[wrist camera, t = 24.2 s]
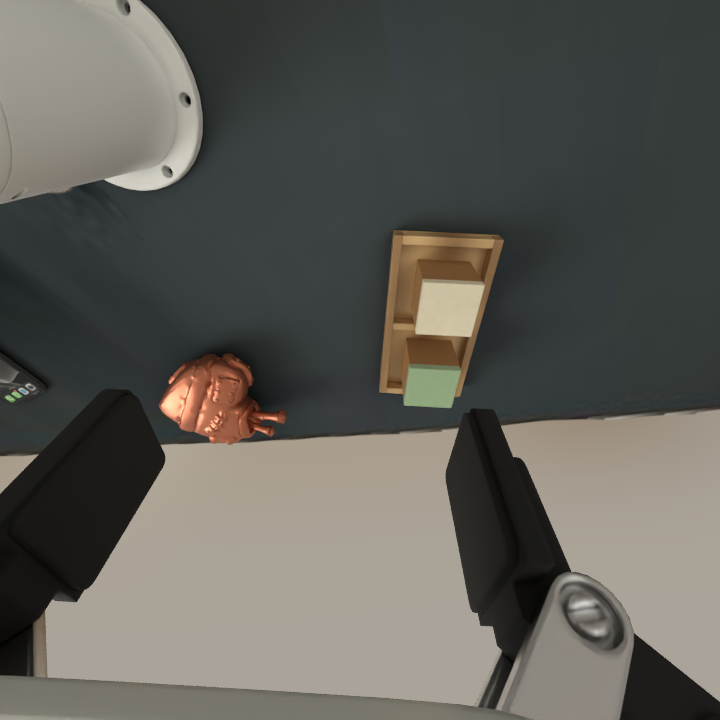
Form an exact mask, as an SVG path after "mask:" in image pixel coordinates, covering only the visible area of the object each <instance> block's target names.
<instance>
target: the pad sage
mask: <svg viewBox="0 0 720 720" xmlns="http://www.w3.org/2000/svg"><path fill="white" fill-rule="evenodd" d="M460 374H461V369H460V365H459V362H458V359H457V356H456V353H455V350H454V347H453V344H452V341H451V340H435V339H416V338H406V341H405V348H404V356H403V363H402V370H401V378H402V389H403V400H404V405H406V406H424V407H442V408H451V407H452V403H453V400H454V396H455V392H456V389H457V385H458V381H459V377H460Z"/></svg>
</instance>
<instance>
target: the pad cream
mask: <svg viewBox="0 0 720 720" xmlns="http://www.w3.org/2000/svg"><path fill="white" fill-rule="evenodd" d="M484 287H485V285H484V283H483V281H482V280H481V278H480V276H479V275H478V273H477V272H476V270H475V268H474V267H473V265H472V264H471V262H469V261H449V260H428V259H417V265H416V272H415V280H414V287H413V294H412V301H411V310H412V315H413V321H414V327H415V332H416V334H423V335H442V336H462V337H471V335H472V332H473V328H474V324H475V321H476V317H477V313H478V310H479V306H480V302H481V299H482V295H483V291H484Z"/></svg>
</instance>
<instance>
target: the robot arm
mask: <svg viewBox="0 0 720 720" xmlns="http://www.w3.org/2000/svg"><path fill="white" fill-rule="evenodd" d="M129 5H130V13H129V11H128V6H129ZM188 96H189V97H190V99H191V104H189V103H188V101H187V98H188ZM202 135H203V114H202V107H201V101H200V95H199V92H198V89H197V85H196V82H195V79H194V75H193V73H192V71H191V69H190V67H189V64H188V62H187V60H186V58H185V56H184V54H183V52H182V50H181V49H180V47H179V45H178V44H177V42H176V41H175V39H174V37H173V36H172V34H171V33H170V32H169V30H168V29H167V28H166V27H165V25H164V24H163V23H162V22H161V21H160V19H159V18H158V17H157V16H156V15H155V14H154V13H153V12H152V11H151V10H150V9H149V8H148V7H147V6H146V5H145V4H144V3H142V2H141V1H140V0H0V204H2V203H6V202H11V201H15V200H19V199H23V198H27V197H32V196H36V195H40V194H44V193H48V192H52V191H57V190H60V189H65V188H69V187H73V186H77V185H82V184H86V183H90V182H94V181H98V180H103V179H104V180H106V181H108V182H110V183H112V184H115V185H118V186H121V187H124V188H126V189H133V190H140V191H145V190H156V189H160V188H163V187H166V186H168V185H171V184H173V183H175V182H177V181H178V180H180V179H181V178H182V177H183V176H184V175H186V174H187V172H188V171H189V170H190V168H191V167H192V165H193V164H194V162H195V160H196V158H197V155H198V153H199V150H200V146H201V140H202ZM170 168H171V170H172V172H173V173H171V171H170ZM164 463H165V454H164V452H163V450H162V448H161V445H160V443H159V441H158V439H157V437H156V435H155V433H154V431H153V429H152V426H151V424H150V422H149V420H148V418H147V416H146V414H145V412H144V410H143V408H142V405H141V403H140V401H139V399H138V398H137V397H136V396H135V395H133V393H132V392H131V391H129V390H118V389H105V390H103V391H101V392H100V393H99V394H98V395H97V396H96V397H95V398H94V399H93V400H92V401H91V402H90V403H89V404H88V405H87V406H86V407H85V408H84V409H83V410H82V411H81V412H80V413H79V414H78V415H77V416H76V418H75V419H74V420H73V421H72V422H71V423H70V424H69V425H68V426H67V427H66V428H65V429H64V430H63V431H62V432H61V433H60V434H59V435H58V436H57V437H56V438H55V439H54V440H53V441H52V442H51V443H50V444H49V445H48V446H47V447H46V448H45V449H44V450H43V451H42V452H41V453H40V454H39V455H38V456H37V457H36V458H35V459H34V460H33V461H32V462H31V463H30V464H29V465H28V466H27V467H26V468H25V469H24V471H22V472H21V473H20V474H19V475H18V477H17V478H16V479H14V480H13V482H11V484H10V485H9V486H8V487H7V488H6V489H5V490H4V491H3V492H2V493H1V494H0V720H720V702H719V701H718V700H717V699H715V698H714V697H713V696H712V695H710V694H709V693H708V692H706V691H705V690H704V689H703V688H702V687H700V686H699V685H698V684H697V683H695V682H694V681H693V680H692V679H690V678H689V677H688V676H687V675H685V674H684V673H683V672H682V671H680V670H679V669H678V668H677V667H675V666H674V665H673V664H672V663H671V662H669V661H668V660H667V659H666V658H664V657H663V656H662V655H660V654H659V653H658V652H657V651H656V650H654V649H653V648H652V647H651V646H649V645H648V644H647V643H645V642H644V641H643V640H642V639H641V638H639V637H638V636H637V635H636V634H634V631H633V628H632V625H631V622H630V618H629V616H628V614H627V613H626V611H625V609H624V608H623V606H622V604H621V603H620V602H619V600H618V599H617V598H616V597H615V596H614V595H613V593H612V592H610V590H608V589H607V588H606V587H605V586H604V585H602V584H601V583H600V582H598V581H597V580H595V579H593V578H591V577H589V576H588V575H584V574H581V573H577V572H571V570H570V568H569V565H568V563H567V561H566V558H565V556H564V554H563V551H562V549H561V546H560V544H559V542H558V539H557V537H556V535H555V532H554V530H553V528H552V525H551V523H550V521H549V518H548V516H547V514H546V511H545V509H544V507H543V504H542V502H541V500H540V497H539V495H538V493H537V490H536V488H535V485H534V483H533V481H532V479H531V476H530V474H529V471H528V469H527V467H526V465H525V463H524V462H523V461H522V460H521V459H520V458H517V457H513V456H512V453H511V451H510V448H509V446H508V443H507V441H506V438H505V436H504V433H503V431H502V428H501V426H500V423H499V421H498V418H497V416H496V413H495V411H494V410H492V409H474V408H473V409H471V410H470V412H469V413H464V415H463V417H462V421H461V424H460V427H459V430H458V434H457V437H456V440H455V444H454V447H453V450H452V453H451V456H450V459H449V463H448V466H447V469H446V484H447V489H448V495H449V500H450V505H451V511H452V516H453V521H454V526H455V532H456V537H457V542H458V547H459V553H460V558H461V563H462V568H463V573H464V578H465V584H466V589H467V594H468V599H469V604H470V608H471V610H472V612H474V613H478V616H479V620H480V625H481V626H493V629H494V634H495V638H496V642H497V646H498V647H499V648H500V650H499V652H498V654H497V656H496V658H495V661H494V663H493V665H492V667H491V670H490V672H489V674H488V677H487V679H486V681H485V683H484V686H483V688H482V690H481V692H480V695H479V697H478V699H477V701H476V703H475V706H474V707H473V706H467V705H460V704H448V703H436V702H424V701H413V700H402V699H389V698H376V697H360V696H344V695H329V694H314V693H298V692H283V691H282V692H281V691H267V690H251V689H234V688H218V687H217V688H216V687H201V686H184V685H167V684H151V683H134V682H114V681H97V680H80V679H62V678H47V656H46V655H47V653H46V627H45V609H46V608H47V606H48V605H49V603H50V602H51V600H52V599H53V600H55V601H67V602H77V601H78V599H79V598H80V596H81V594H82V593H83V591H84V590H85V589H87V588H89V587H90V586H91V585H92V584H93V582H94V581H95V579H96V578H97V576H98V574H99V573H100V571H101V569H102V568H103V566H104V565H105V563H106V561H107V559H108V558H109V556H110V554H111V553H112V551H113V549H114V548H115V546H116V544H117V543H118V541H119V540H120V538H121V536H122V535H123V533H124V531H125V530H126V528H127V526H128V524H129V523H130V521H131V519H132V518H133V516H134V515H135V513H136V511H137V509H138V508H139V506H140V504H141V503H142V501H143V500H144V498H145V496H146V495H147V493H148V491H149V490H150V488H151V486H152V485H153V483H154V481H155V480H156V478H157V476H158V474H159V473H160V471H161V469H162V468H163V466H164Z"/></svg>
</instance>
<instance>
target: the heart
mask: <svg viewBox="0 0 720 720" xmlns="http://www.w3.org/2000/svg"><path fill="white" fill-rule="evenodd" d="M250 369H251V368H250V366H249V365H246V364H245V363H244V362H243V361H242V360H240V359H239V358H237V357H235V356H234V355H233V354H230V353H227V354H224V355H223V357H218V356H217V355H215V354H206V355H204V356H203V357H202V358H199V359H196V360H194V361H190V362H184V363H182V366H181V367H180V368H179V369H178V370H177V371H176V372H175V373H174V374H172V375H171V376H170V380H169V384H170V386H169V387H168V389H167V390H166V392H165V394H164V395H163V397H162V399H161V401H160V403H159V406H160V409H161V411H162V412H163V413H164V414H165V415H166V416H168V417H169V418H171V419H172V420H174V421H175V422H177V423H178V424H179V427H180V428H181V429H182V430H185V431H191V432H192V431H195V432H196V433H198V434H201V435H204V436H207V437H209V440H210V442H211V443H214V444H215V443H217V442H219V443H227V444H228V445H230V444H233V443H236V442H238V441H239V440H240V439H242V438H249V437H251V436H252V435H253V434H254V433H255V432H256V431H257V430H258V431H261V432H263V433H265V434H266V435H270V437H271V436H272V435H273V433H274V432H275V430H274V426H262V425H260V424H261V420H273V421H276V422H280V423H285V421H286V418H287V414H286V411H285V410H284V409H281V410H280V411H276V412H273V413H271V412H266V411H261V410H260V407H259V405H258V403H257V402H256V401H255V400H252V399H251V397H249V396H248V395H247V393H248V387H249V386H251V385H252V383H253V381H254V377H252V373H251V370H250Z"/></svg>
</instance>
